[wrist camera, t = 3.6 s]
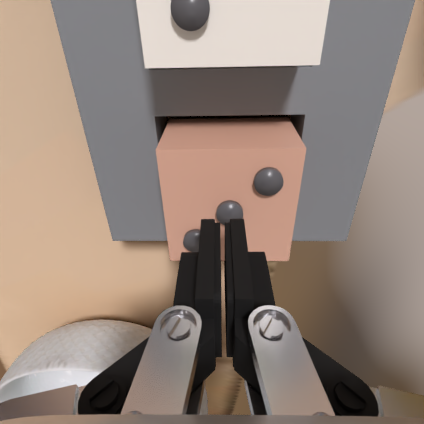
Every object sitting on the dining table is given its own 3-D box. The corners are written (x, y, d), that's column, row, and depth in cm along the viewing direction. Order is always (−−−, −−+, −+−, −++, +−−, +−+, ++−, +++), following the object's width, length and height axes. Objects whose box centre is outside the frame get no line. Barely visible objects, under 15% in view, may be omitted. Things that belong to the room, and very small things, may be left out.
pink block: (288, 117, 15) (308, 151, 12) (276, 215, 19) (289, 265, 15) (169, 118, 16) (154, 152, 12) (179, 215, 19) (169, 264, 15)
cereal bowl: (221, 300, 26) (221, 385, 20) (201, 395, 35) (197, 473, 30) (16, 278, 25) (-45, 361, 19) (51, 382, 35) (16, 459, 29)
